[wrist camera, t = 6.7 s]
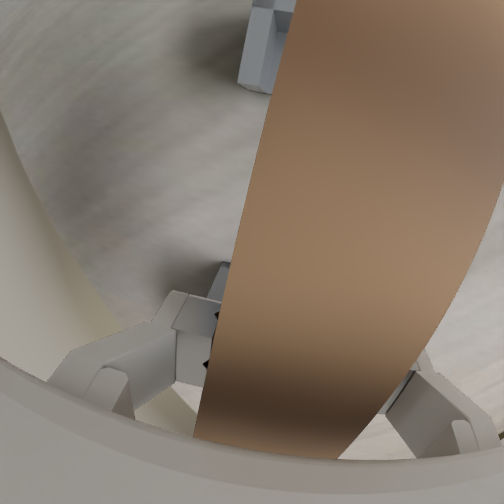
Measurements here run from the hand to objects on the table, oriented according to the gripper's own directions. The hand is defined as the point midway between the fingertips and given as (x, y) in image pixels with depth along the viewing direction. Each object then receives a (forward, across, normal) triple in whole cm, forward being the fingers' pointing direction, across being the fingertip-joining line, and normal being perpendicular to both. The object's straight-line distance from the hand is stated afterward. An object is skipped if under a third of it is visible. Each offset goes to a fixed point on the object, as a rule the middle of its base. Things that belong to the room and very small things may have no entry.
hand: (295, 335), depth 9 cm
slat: (+2, 0, 0) cm, 2 cm away
